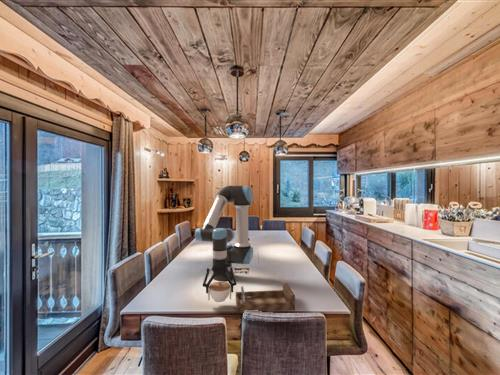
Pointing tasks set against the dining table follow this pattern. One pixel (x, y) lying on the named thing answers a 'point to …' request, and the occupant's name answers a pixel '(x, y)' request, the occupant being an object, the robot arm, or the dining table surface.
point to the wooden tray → (267, 300)
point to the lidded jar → (219, 291)
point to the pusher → (244, 296)
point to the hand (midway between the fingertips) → (219, 298)
